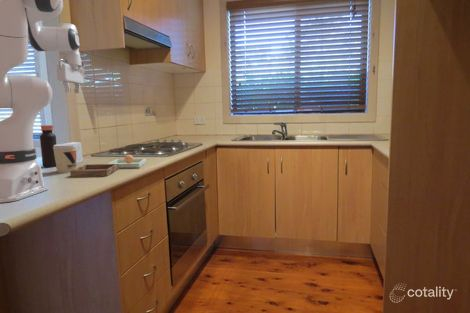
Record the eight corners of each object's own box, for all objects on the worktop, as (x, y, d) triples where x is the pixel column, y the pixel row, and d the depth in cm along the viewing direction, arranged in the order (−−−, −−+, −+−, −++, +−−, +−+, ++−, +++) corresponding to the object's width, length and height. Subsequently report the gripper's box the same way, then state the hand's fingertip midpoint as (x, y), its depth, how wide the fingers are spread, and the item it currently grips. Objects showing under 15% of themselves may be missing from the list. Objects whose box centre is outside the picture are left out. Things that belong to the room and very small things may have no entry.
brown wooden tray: (107, 176, 137) (106, 170, 136) (70, 177, 136) (70, 171, 135) (118, 169, 152) (118, 163, 152) (85, 170, 151) (85, 164, 151)
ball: (131, 157, 160) (134, 153, 164) (122, 157, 160) (125, 152, 164) (132, 165, 162) (135, 161, 166) (123, 165, 162) (126, 160, 166)
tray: (139, 168, 154) (139, 163, 154) (106, 168, 153) (106, 164, 153) (146, 162, 169) (146, 158, 169) (116, 163, 168) (116, 159, 168)
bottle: (40, 166, 162) (36, 125, 159) (54, 164, 167) (50, 125, 164) (46, 168, 158) (42, 126, 155) (61, 166, 163) (57, 125, 160)
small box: (74, 161, 176) (72, 142, 175) (83, 162, 175) (81, 142, 173) (62, 164, 168) (61, 143, 167) (72, 164, 167) (70, 143, 165)
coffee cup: (69, 173, 144) (66, 146, 142) (50, 172, 146) (47, 145, 144) (82, 169, 153) (80, 143, 151) (65, 169, 155) (62, 143, 153)
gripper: (66, 58, 140) (69, 91, 142) (85, 64, 160) (88, 93, 162) (51, 58, 140) (54, 91, 142) (72, 64, 160) (75, 93, 162)
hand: (72, 92), depth 152 cm, fingers open, 8 cm apart
